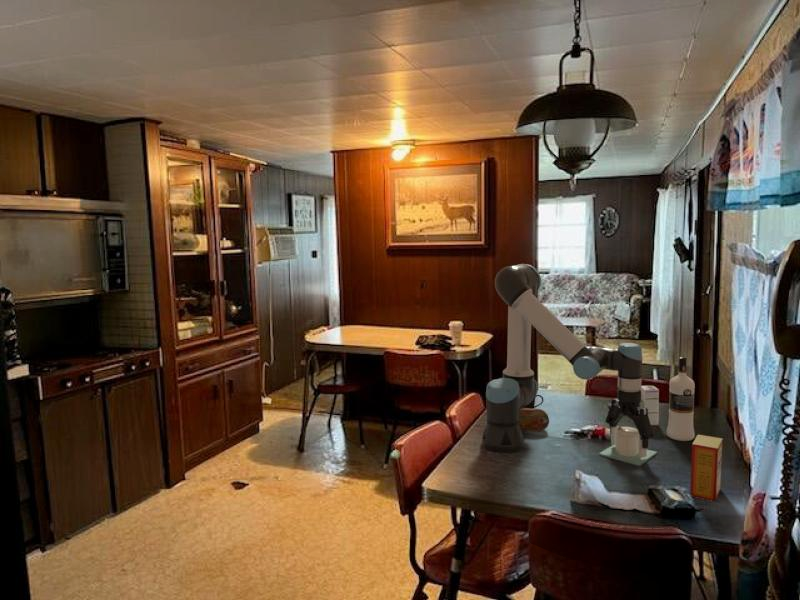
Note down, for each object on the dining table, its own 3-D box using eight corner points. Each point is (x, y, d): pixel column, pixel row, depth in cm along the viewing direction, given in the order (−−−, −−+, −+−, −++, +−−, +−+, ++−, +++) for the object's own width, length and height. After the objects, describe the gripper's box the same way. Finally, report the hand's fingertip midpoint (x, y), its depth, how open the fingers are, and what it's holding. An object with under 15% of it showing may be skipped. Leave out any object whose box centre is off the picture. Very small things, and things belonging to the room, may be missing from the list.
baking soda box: (696, 484, 176) (697, 433, 174) (720, 489, 172) (722, 437, 170) (690, 496, 168) (692, 442, 166) (715, 501, 164) (717, 447, 162)
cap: (632, 457, 195) (633, 434, 194) (613, 452, 200) (613, 430, 199) (641, 452, 200) (641, 429, 199) (622, 447, 205) (622, 425, 204)
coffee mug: (511, 411, 249) (511, 388, 248) (527, 408, 253) (527, 386, 251) (528, 419, 239) (528, 395, 237) (545, 415, 242) (545, 392, 241)
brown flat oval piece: (509, 429, 227) (509, 409, 226) (509, 427, 230) (509, 406, 229) (549, 432, 223) (549, 410, 222) (548, 429, 226) (549, 408, 225)
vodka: (688, 432, 218) (691, 354, 215) (698, 442, 209) (701, 360, 205) (662, 432, 219) (665, 354, 215) (671, 441, 210) (674, 360, 206)
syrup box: (659, 425, 227) (660, 389, 226) (643, 425, 228) (644, 389, 226) (653, 420, 233) (653, 385, 231) (638, 420, 233) (638, 385, 231)
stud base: (639, 466, 190) (640, 448, 189) (599, 454, 200) (599, 437, 199) (657, 453, 200) (657, 436, 199) (617, 443, 210) (617, 427, 209)
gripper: (666, 396, 187) (665, 460, 190) (611, 379, 209) (610, 437, 212) (649, 399, 184) (648, 465, 187) (595, 382, 206) (594, 441, 209)
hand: (628, 450), depth 200 cm, fingers open, 12 cm apart
